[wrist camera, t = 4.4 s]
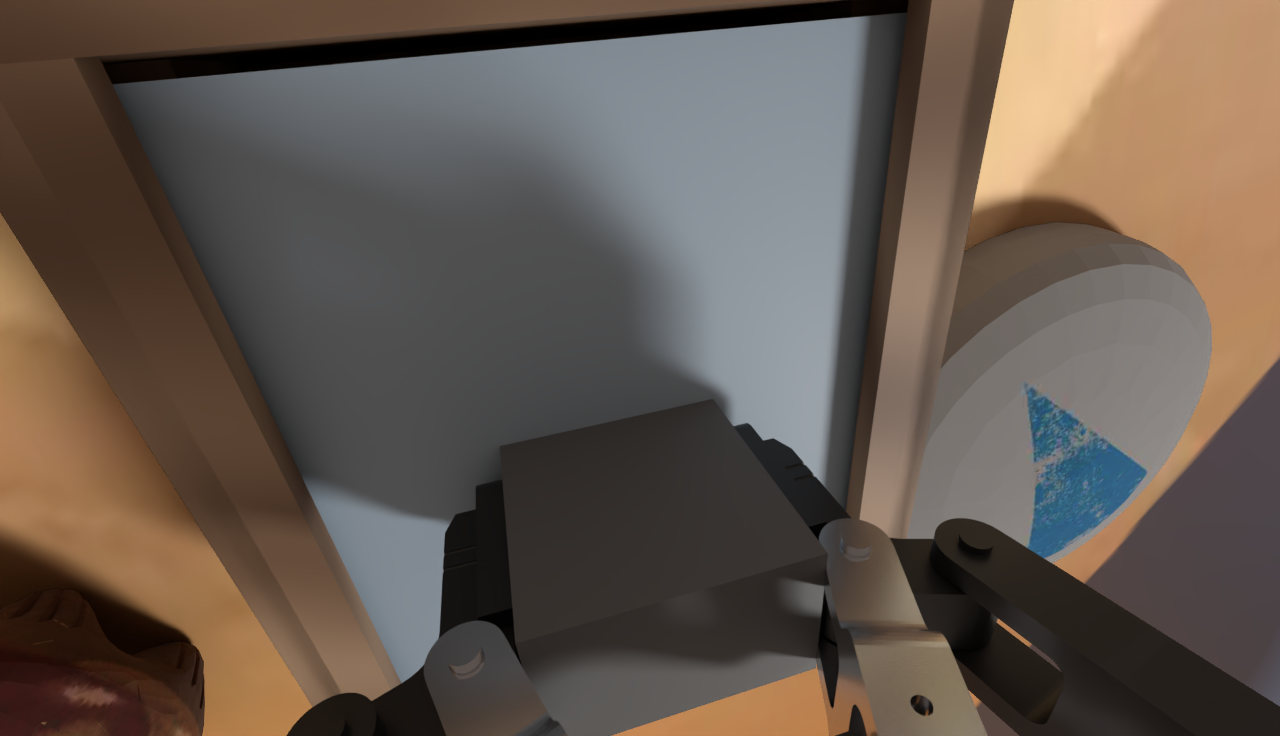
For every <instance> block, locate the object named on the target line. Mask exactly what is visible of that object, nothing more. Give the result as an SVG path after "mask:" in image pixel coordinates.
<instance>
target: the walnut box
mask: <svg viewBox="0 0 1280 736" xmlns="http://www.w3.org/2000/svg"><path fill="white" fill-rule="evenodd" d="M1013 3H1014V0H0V212H1V214H2V216H3V217H4V219H5V220H6V222H7V224H8V225H9V227H10V228H11V230H12V231H13V233H14V235H15V236H16V238H17V239H18V241H19V243H20V244H21V246H22V247H23V249H24V250H25V252H26V254H27V255H28V257H29V258H30V260H31V262H32V263H33V265H34V266H35V268H36V269H37V271H38V273H39V274H40V276H41V277H42V279H43V281H44V282H45V284H46V285H47V287H48V288H49V290H50V292H51V293H52V295H53V296H54V298H55V300H56V301H57V303H58V304H59V306H60V307H61V309H62V311H63V312H64V314H65V315H66V317H67V319H68V320H69V322H70V323H71V325H72V326H73V328H74V330H75V331H76V333H77V334H78V336H79V338H80V339H81V341H82V342H83V344H84V345H85V347H86V349H87V350H88V352H89V353H90V355H91V357H92V358H93V360H94V361H95V363H96V364H97V366H98V368H99V369H100V371H101V372H102V374H103V376H104V377H105V379H106V380H107V382H108V383H109V385H110V387H111V388H112V390H113V391H114V393H115V395H116V396H117V398H118V399H119V401H120V402H121V404H122V406H123V407H124V409H125V410H126V412H127V414H128V415H129V417H130V418H131V420H132V421H133V423H134V425H135V426H136V428H137V429H138V431H139V433H140V434H141V436H142V437H143V439H144V440H145V442H146V444H147V445H148V447H149V448H150V450H151V452H152V453H153V455H154V456H155V458H156V459H157V461H158V463H159V464H160V466H161V467H162V469H163V471H164V472H165V474H166V475H167V477H168V478H169V480H170V482H171V483H172V485H173V486H174V488H175V490H176V491H177V493H178V494H179V496H180V497H181V499H182V501H183V502H184V504H185V505H186V507H187V509H188V510H189V512H190V513H191V515H192V516H193V518H194V520H195V521H196V523H197V524H198V526H199V528H200V529H201V531H202V532H203V534H204V535H205V537H206V539H207V540H208V542H209V543H210V545H211V547H212V548H213V550H214V551H215V553H216V554H217V556H218V558H219V559H220V561H221V562H222V564H223V566H224V567H225V569H226V570H227V572H228V573H229V575H230V577H231V578H232V580H233V581H234V583H235V585H236V586H237V588H238V589H239V591H240V592H241V594H242V596H243V597H244V599H245V600H246V602H247V604H248V605H249V607H250V608H251V610H252V611H253V613H254V615H255V616H256V618H257V619H258V621H259V623H260V624H261V626H262V627H263V629H264V630H265V632H266V634H267V635H268V637H269V638H270V640H271V642H272V643H273V645H274V646H275V648H276V649H277V651H278V653H279V654H280V656H281V657H282V659H283V661H284V662H285V664H286V665H287V667H288V668H289V670H290V672H291V673H292V675H293V676H294V678H295V680H296V681H297V683H298V684H299V686H300V687H301V689H302V691H303V692H304V694H305V695H306V697H307V699H308V700H309V702H310V703H311V705H312V706H313V707H314V706H315V705H317V704H318V703H320V702H322V701H323V700H325V699H327V698H330V697H332V696H335V695H338V694H342V693H359V694H362V695H364V696H366V697H367V698H369V699H370V700H371V701H373V700H374V699H376V698H378V697H379V696H381V695H383V694H384V693H386V692H388V691H389V690H391V689H393V688H394V687H396V686H398V685H399V684H401V681H400V679H399V677H398V675H397V673H396V671H395V669H394V667H393V665H392V662H391V660H390V658H389V656H388V654H387V652H386V650H385V648H384V646H383V644H382V642H381V640H380V638H379V636H378V633H377V631H376V629H375V627H374V625H373V623H372V621H371V619H370V617H369V615H368V613H367V611H366V609H365V607H364V605H363V602H362V600H361V598H360V596H359V594H358V592H357V590H356V588H355V586H354V584H353V582H352V580H351V578H350V576H349V573H348V571H347V569H346V567H345V565H344V563H343V561H342V559H341V557H340V555H339V553H338V551H337V549H336V547H335V544H334V542H333V540H332V538H331V536H330V534H329V532H328V530H327V528H326V526H325V524H324V522H323V520H322V518H321V516H320V513H319V511H318V509H317V507H316V505H315V503H314V501H313V499H312V497H311V495H310V493H309V491H308V489H307V487H306V484H305V482H304V480H303V478H302V476H301V474H300V472H299V470H298V468H297V466H296V464H295V462H294V460H293V458H292V455H291V453H290V451H289V449H288V447H287V445H286V443H285V441H284V439H283V437H282V435H281V433H280V431H279V429H278V427H277V424H276V422H275V420H274V418H273V416H272V414H271V412H270V410H269V408H268V406H267V404H266V402H265V400H264V398H263V395H262V393H261V391H260V389H259V387H258V385H257V383H256V381H255V379H254V377H253V375H252V373H251V371H250V369H249V366H248V364H247V362H246V360H245V358H244V356H243V354H242V352H241V350H240V348H239V346H238V344H237V342H236V340H235V338H234V335H233V333H232V331H231V329H230V327H229V325H228V323H227V321H226V319H225V317H224V315H223V313H222V311H221V309H220V306H219V304H218V302H217V300H216V298H215V296H214V294H213V292H212V290H211V288H210V286H209V284H208V282H207V280H206V278H205V275H204V273H203V271H202V269H201V267H200V265H199V263H198V261H197V259H196V257H195V255H194V253H193V251H192V249H191V246H190V244H189V242H188V240H187V238H186V236H185V234H184V232H183V230H182V228H181V226H180V224H179V222H178V220H177V217H176V215H175V213H174V211H173V209H172V207H171V205H170V203H169V201H168V199H167V197H166V195H165V193H164V191H163V189H162V186H161V184H160V182H159V180H158V178H157V176H156V174H155V172H154V170H153V168H152V166H151V164H150V162H149V160H148V157H147V155H146V153H145V151H144V149H143V147H142V145H141V143H140V141H139V139H138V137H137V135H136V133H135V131H134V128H133V126H132V124H131V122H130V120H129V118H128V116H127V114H126V112H125V110H124V108H123V106H122V104H121V102H120V100H119V97H118V95H117V93H116V91H115V89H114V87H113V85H112V84H123V83H134V82H145V81H156V80H167V79H178V78H189V77H201V76H212V75H223V74H234V73H245V72H256V71H267V70H278V69H289V68H300V67H311V66H322V65H333V64H344V63H355V62H366V61H377V60H388V59H399V58H410V57H421V56H432V55H443V54H454V53H465V52H477V51H488V50H499V49H510V48H521V47H532V46H543V45H554V44H565V43H576V42H587V41H598V40H609V39H620V38H631V37H642V36H653V35H664V34H675V33H686V32H697V31H708V30H719V29H730V28H741V27H752V26H764V25H775V24H786V23H797V22H808V21H819V20H830V19H841V18H852V17H863V16H874V15H885V14H896V13H907V19H906V27H905V35H904V43H903V51H902V60H901V68H900V76H899V84H898V92H897V100H896V108H895V117H894V125H893V133H892V141H891V149H890V157H889V165H888V173H887V182H886V190H885V198H884V206H883V214H882V222H881V230H880V239H879V247H878V255H877V263H876V271H875V279H874V287H873V295H872V304H871V312H870V320H869V328H868V336H867V344H866V352H865V361H864V369H863V377H862V385H861V393H860V401H859V409H858V417H857V426H856V434H855V442H854V450H853V458H852V466H851V474H850V483H849V491H848V499H847V507H846V512H847V513H848V515H849V516H850V517H851V518H852V519H859V520H863V521H866V522H869V523H871V524H873V525H875V526H877V527H878V528H880V529H881V530H883V531H884V532H885V533H886V534H887V535H888V537H889V538H898V539H907V535H908V530H909V525H910V520H911V515H912V510H913V505H914V500H915V495H916V490H917V485H918V480H919V475H920V470H921V465H922V460H923V455H924V450H925V445H926V440H927V435H928V430H929V425H930V420H931V415H932V410H933V405H934V400H935V395H936V390H937V385H938V380H939V375H940V370H941V365H942V360H943V355H944V349H945V344H946V339H947V334H948V329H949V324H950V319H951V314H952V309H953V304H954V299H955V294H956V289H957V284H958V279H959V274H960V269H961V264H962V259H963V254H964V249H965V244H966V239H967V234H968V229H969V224H970V219H971V214H972V209H973V204H974V199H975V194H976V189H977V184H978V179H979V174H980V169H981V164H982V159H983V154H984V149H985V144H986V139H987V134H988V129H989V124H990V119H991V113H992V108H993V103H994V98H995V93H996V88H997V83H998V78H999V73H1000V68H1001V63H1002V58H1003V53H1004V48H1005V43H1006V38H1007V33H1008V28H1009V23H1010V18H1011V13H1012V8H1013Z"/></svg>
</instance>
